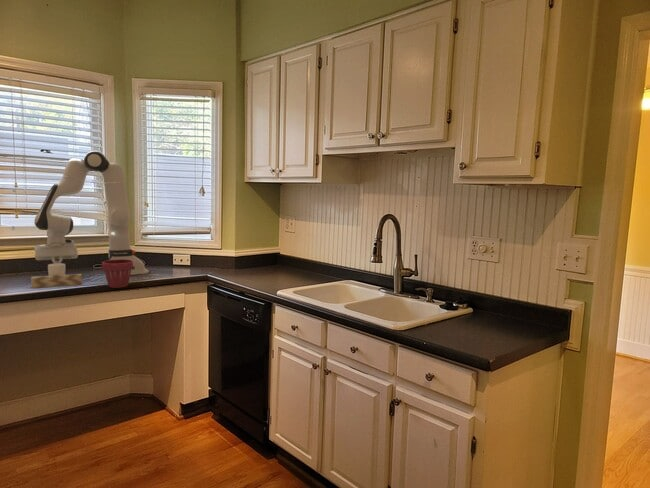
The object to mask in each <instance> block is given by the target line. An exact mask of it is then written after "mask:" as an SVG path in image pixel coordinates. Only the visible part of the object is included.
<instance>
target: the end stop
mask: <svg viewBox="0 0 650 488" xmlns="http://www.w3.org/2000/svg"><path fill="white" fill-rule="evenodd" d="M82 274H83V273H77V274H74V273H73V274H65V275H55V276H49V275H39V276H31V277H30V281H31V283H30V284H31V285H30V286H31V289H32V288H35V289H36V288H45V287H47V288H48V287H61V286H76V285H77V286H78V285H83V278H82V277H83V275H82Z"/></svg>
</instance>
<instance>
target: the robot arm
mask: <svg viewBox="0 0 650 488" xmlns="http://www.w3.org/2000/svg"><path fill="white" fill-rule="evenodd" d="M89 172H99V173H101V175H102V178H103V183H104V184H103V185H104V192H105V199H106V204H107V205H106V206H107V212H108V214H107V221H108V222H107V223H108V239H109V241H108V245H109V249H108V260H116V259H127V260H132V261H133V268H132V269H131V273H130V276H132V275H133V276H134V275H143V274H148V273H149V272H150V271H149V269H147V268H146V267H145V263H144V261H142V260H141V259H140V258H138V257H137V256H136V255H135V254H136V250H134V249H132V248H131V235H130V223H129V222H130V220H131V214H130V213H131V212H130V206H129V201H128V200H129V199H128V195H127V194H128V193H127V187H126V181H125V180H126V179H125V174H124V171H123V167H122V165H120V163H116V162H109V160H108V159H107V157H106V156H105V154H103V153H102V152H101V151H97V150H91V151H88V152H87V153H86V154H85V155H84V158H83V159H79V158H71V159H69V160H68V162H67V164H66V165H65V168H64V170H63V174H62V177H61V178H60V180H59V182H57V183H54V184H53V185H52V186H51V187H50V188H49V189H50V190H49V191H48V193H47V195H46V197H45V200H44V201H43V204H42V205H41V208H40V209H39V211H38V213H36V216H35V217H34V222H33V223H34V226H35V227H36V228H37V229H38V230H40V231H46V236H47V239H46V244H38V245H36V246H34V248H33V249H34V252H35V253H34V257H35V260H36V261H50V260H51V262H52V264H56V263H62V261H63V260H71V259H72V260H73V259H77V258H78V257H79V254H78V253H79V252H78V248H77V246H76V244H75V240H74V239H69V238H65V237H66V236H68V235H69V234H70V233H72V231H73V230H74V220H73V219H72V217H71V216H69V215H65V214H64V215H63V214H58V213H52V212H51V209H53V206H54V204H55V202H56V200H57V199H58V198H60V197H62V196H71V195H76V194H78V193H80V192H81V191H82V190H83V188H84V185H85V181H86V178H87V175H88V173H89Z"/></svg>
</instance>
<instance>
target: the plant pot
mask: <svg viewBox="0 0 650 488" xmlns="http://www.w3.org/2000/svg"><path fill="white" fill-rule="evenodd" d="M101 267H102V270H103V271H104V274H105V279H106V281H107V284H108V287H109V288H111V289H112V288H116V289H119V288H124V287H127V286H129V283H130V282H129V281H130V277H131V275H130V273H131V269H132V268H133V261H132V260H127V259H116V260H109V259H108V260H104V261H102V262H101Z"/></svg>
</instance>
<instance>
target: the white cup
mask: <svg viewBox="0 0 650 488" xmlns="http://www.w3.org/2000/svg"><path fill="white" fill-rule="evenodd" d="M47 272H48V274H47V275H48V276H55V275H66V263H62V262H61V263H56V264H54V263H49V264H47Z"/></svg>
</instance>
